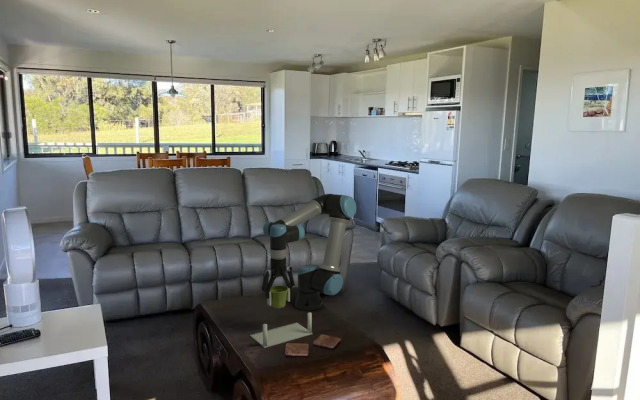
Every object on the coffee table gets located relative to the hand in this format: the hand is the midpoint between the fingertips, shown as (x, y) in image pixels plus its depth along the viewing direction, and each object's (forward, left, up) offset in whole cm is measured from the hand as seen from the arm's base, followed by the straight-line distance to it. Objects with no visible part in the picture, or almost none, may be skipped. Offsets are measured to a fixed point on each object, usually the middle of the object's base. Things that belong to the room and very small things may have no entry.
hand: (278, 302), depth 218 cm
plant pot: (0, 0, -2) cm, 2 cm away
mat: (0, +2, -16) cm, 16 cm away
